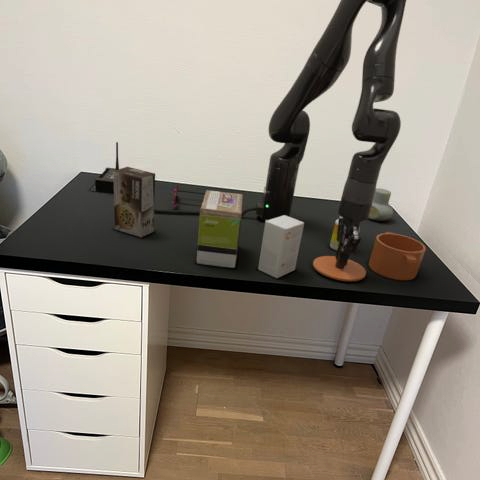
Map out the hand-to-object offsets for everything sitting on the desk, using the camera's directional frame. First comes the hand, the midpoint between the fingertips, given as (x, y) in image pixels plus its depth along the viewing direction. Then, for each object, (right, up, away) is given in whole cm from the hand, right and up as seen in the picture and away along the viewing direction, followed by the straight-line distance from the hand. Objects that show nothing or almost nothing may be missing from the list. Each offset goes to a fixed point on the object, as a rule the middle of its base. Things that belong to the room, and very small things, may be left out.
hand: (340, 262), depth 123 cm
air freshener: (+22, +21, +45) cm, 54 cm away
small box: (-17, -3, -3) cm, 18 cm away
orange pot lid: (0, -2, +1) cm, 2 cm away
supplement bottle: (+3, +6, +15) cm, 17 cm away
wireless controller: (-69, +29, +36) cm, 83 cm away
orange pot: (+16, -1, +7) cm, 17 cm away
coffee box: (-56, +9, +7) cm, 57 cm away
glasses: (-40, +22, +31) cm, 55 cm away
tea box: (-32, +2, 0) cm, 32 cm away
